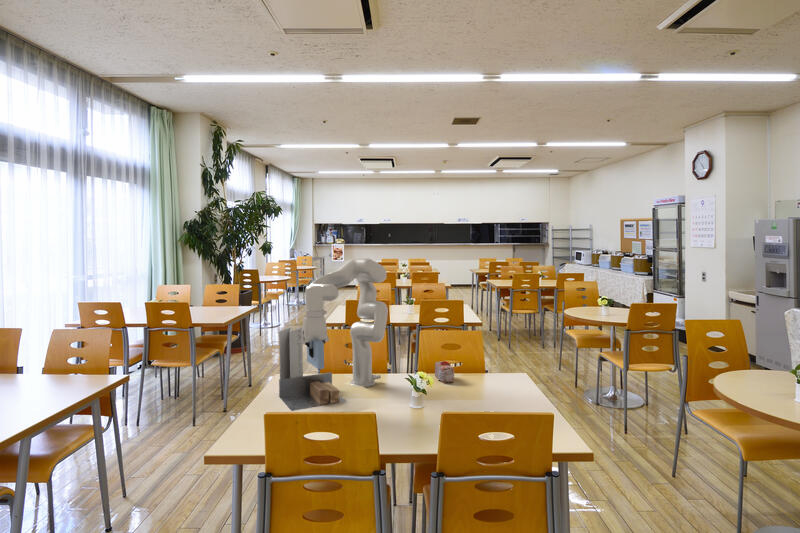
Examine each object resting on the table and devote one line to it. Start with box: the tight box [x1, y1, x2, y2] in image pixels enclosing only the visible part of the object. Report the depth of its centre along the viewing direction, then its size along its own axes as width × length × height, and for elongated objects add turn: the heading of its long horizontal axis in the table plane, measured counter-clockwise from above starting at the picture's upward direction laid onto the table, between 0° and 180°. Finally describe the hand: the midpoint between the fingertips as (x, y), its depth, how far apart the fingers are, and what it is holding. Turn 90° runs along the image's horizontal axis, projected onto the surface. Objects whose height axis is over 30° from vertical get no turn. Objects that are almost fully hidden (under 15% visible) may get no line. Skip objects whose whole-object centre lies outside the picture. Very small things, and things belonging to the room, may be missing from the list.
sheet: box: [306, 340, 325, 370], centre depth 205 cm, size 2×16×11 cm, turn 28°
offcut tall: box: [310, 382, 329, 404], centre depth 213 cm, size 4×14×6 cm, turn 28°
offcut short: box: [321, 382, 340, 403], centre depth 215 cm, size 4×14×5 cm, turn 28°
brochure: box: [278, 326, 304, 379], centre depth 229 cm, size 14×6×30 cm, turn 168°
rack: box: [278, 372, 348, 412], centre depth 213 cm, size 25×21×9 cm
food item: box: [434, 360, 455, 383], centre depth 246 cm, size 14×8×10 cm, turn 15°
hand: (315, 356), depth 205 cm, fingers closed on sheet, 2 cm apart
